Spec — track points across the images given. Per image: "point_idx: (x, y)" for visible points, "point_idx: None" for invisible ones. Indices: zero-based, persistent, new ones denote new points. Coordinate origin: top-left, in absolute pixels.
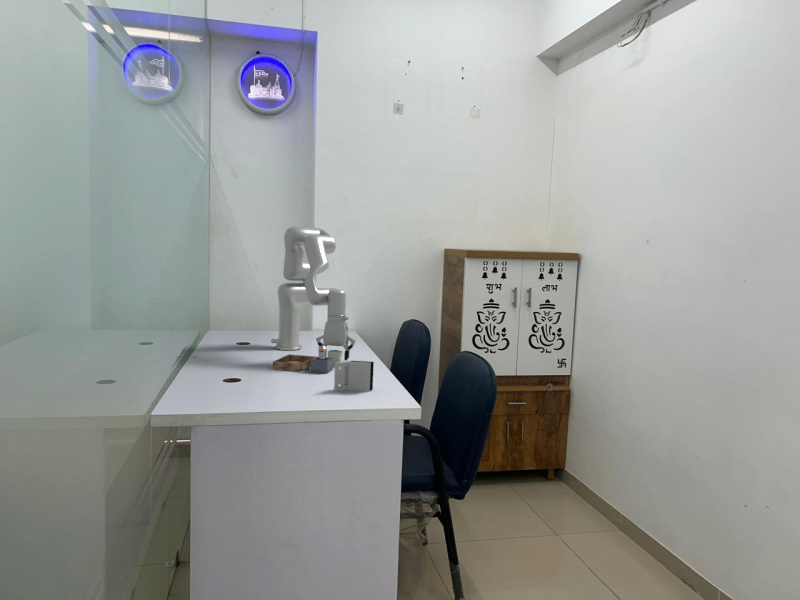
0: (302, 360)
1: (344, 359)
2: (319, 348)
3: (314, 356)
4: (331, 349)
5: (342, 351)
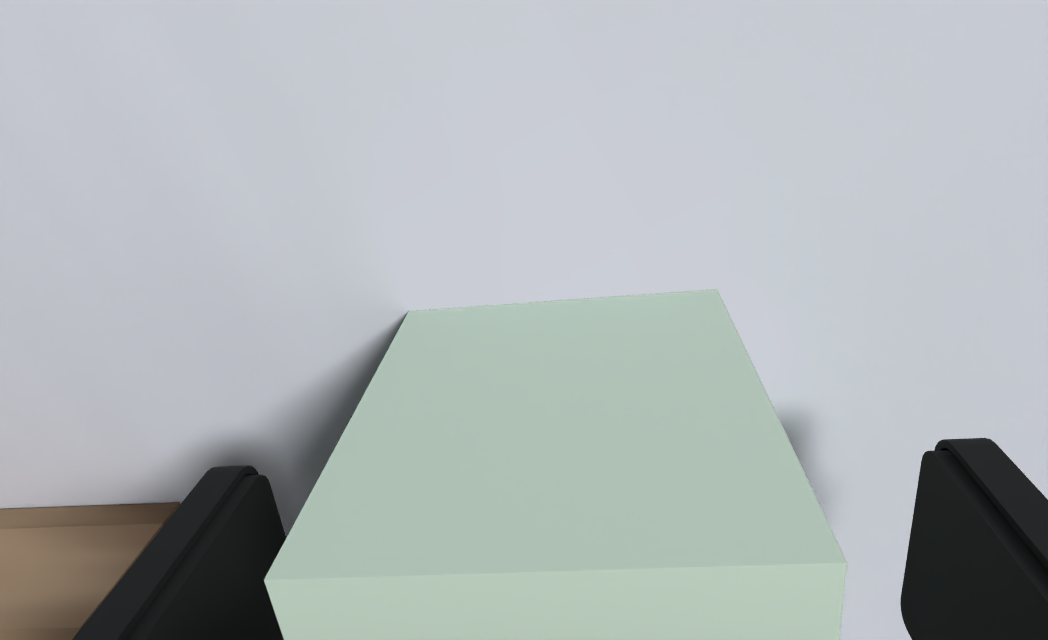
0: None
1: (910, 626)
2: None
3: (22, 632)
4: (280, 596)
5: (827, 532)
